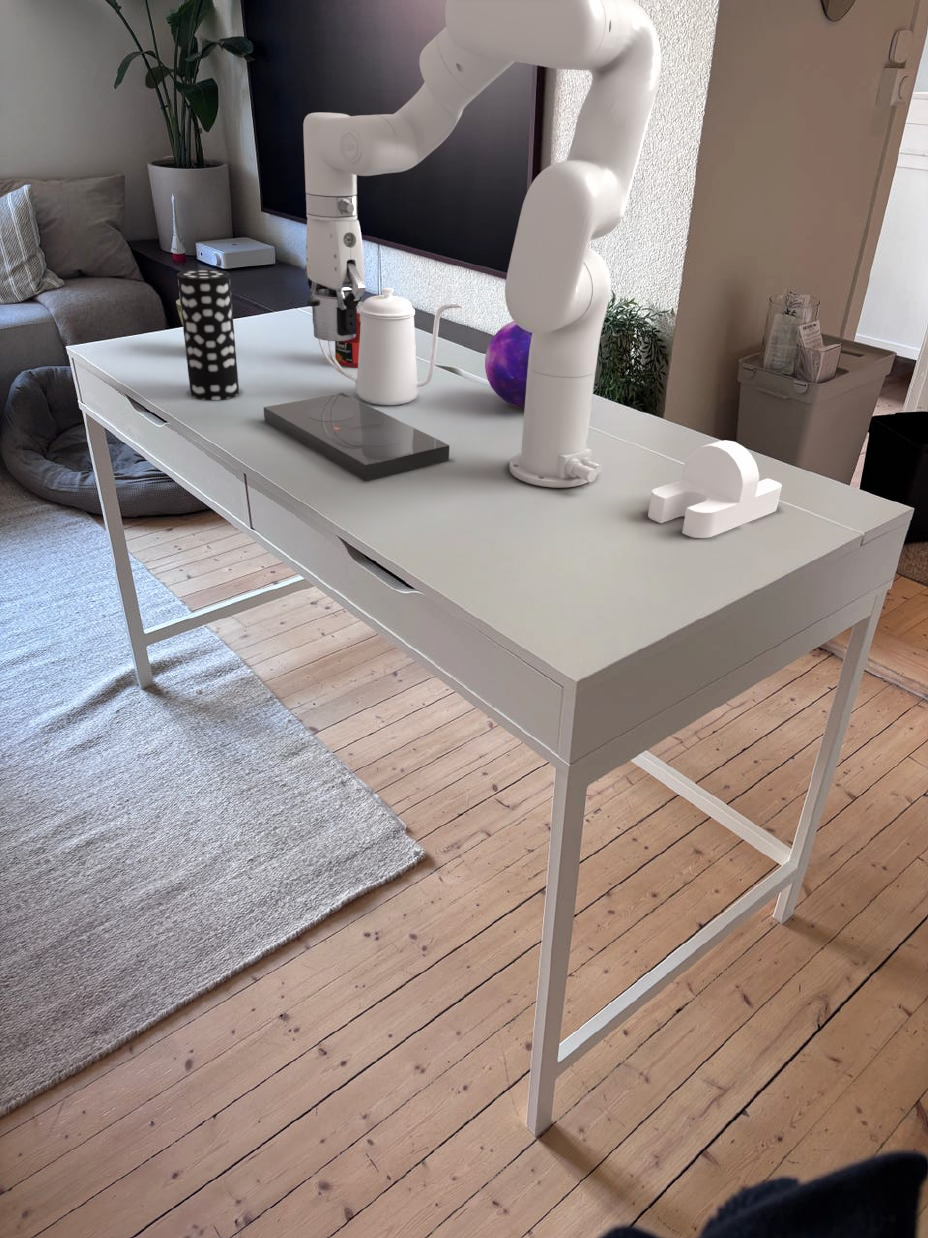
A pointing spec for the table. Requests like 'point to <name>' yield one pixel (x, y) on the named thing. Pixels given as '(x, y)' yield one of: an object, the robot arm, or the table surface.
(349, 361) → the canned food
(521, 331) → the decorative orb
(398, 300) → the coffeepot
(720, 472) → the slotted bracket
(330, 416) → the hot plate
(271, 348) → the table surface
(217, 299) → the white-spotted black cylinder
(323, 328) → the pot
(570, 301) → the robot arm
